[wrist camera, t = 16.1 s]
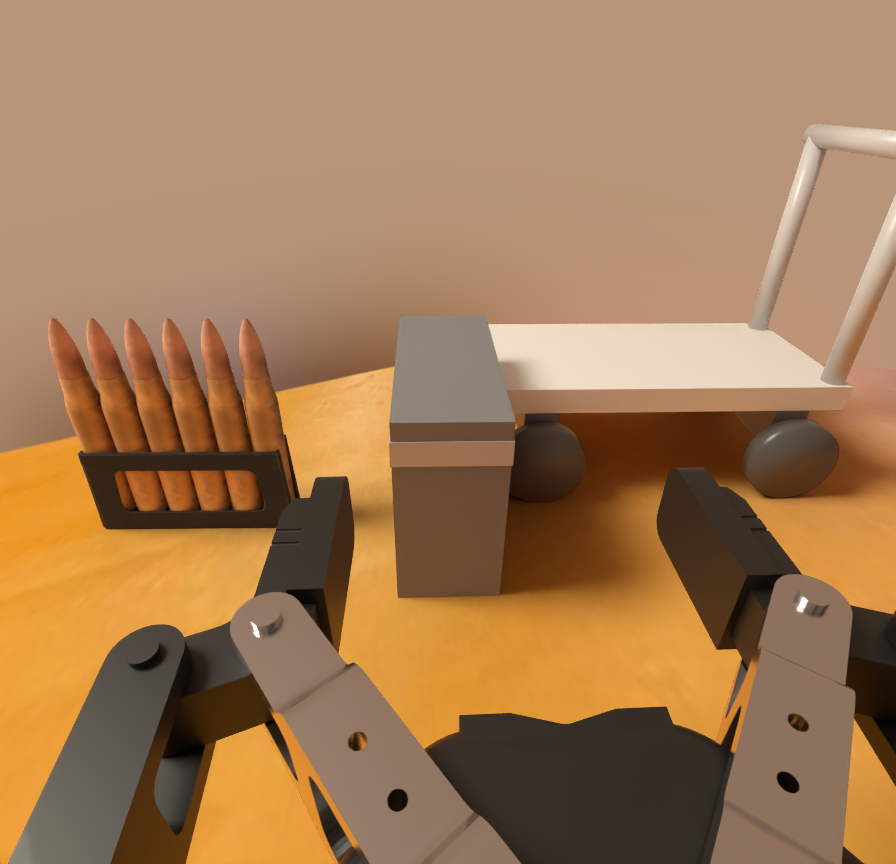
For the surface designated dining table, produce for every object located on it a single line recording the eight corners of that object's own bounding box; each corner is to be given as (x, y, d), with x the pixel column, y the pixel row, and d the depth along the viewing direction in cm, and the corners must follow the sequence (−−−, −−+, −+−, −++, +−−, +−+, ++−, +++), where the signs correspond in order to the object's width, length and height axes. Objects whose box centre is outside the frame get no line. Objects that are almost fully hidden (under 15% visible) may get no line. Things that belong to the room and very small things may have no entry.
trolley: (726, 400, 45) (814, 122, 34) (820, 497, 34) (988, 138, 24) (479, 403, 44) (493, 118, 33) (497, 502, 33) (526, 133, 23)
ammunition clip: (103, 529, 31) (18, 325, 25) (119, 508, 33) (42, 311, 26) (296, 527, 31) (260, 326, 25) (302, 506, 33) (270, 311, 26)
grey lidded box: (479, 457, 38) (486, 315, 32) (500, 596, 27) (516, 422, 22) (403, 458, 37) (398, 315, 32) (396, 598, 27) (388, 423, 22)
